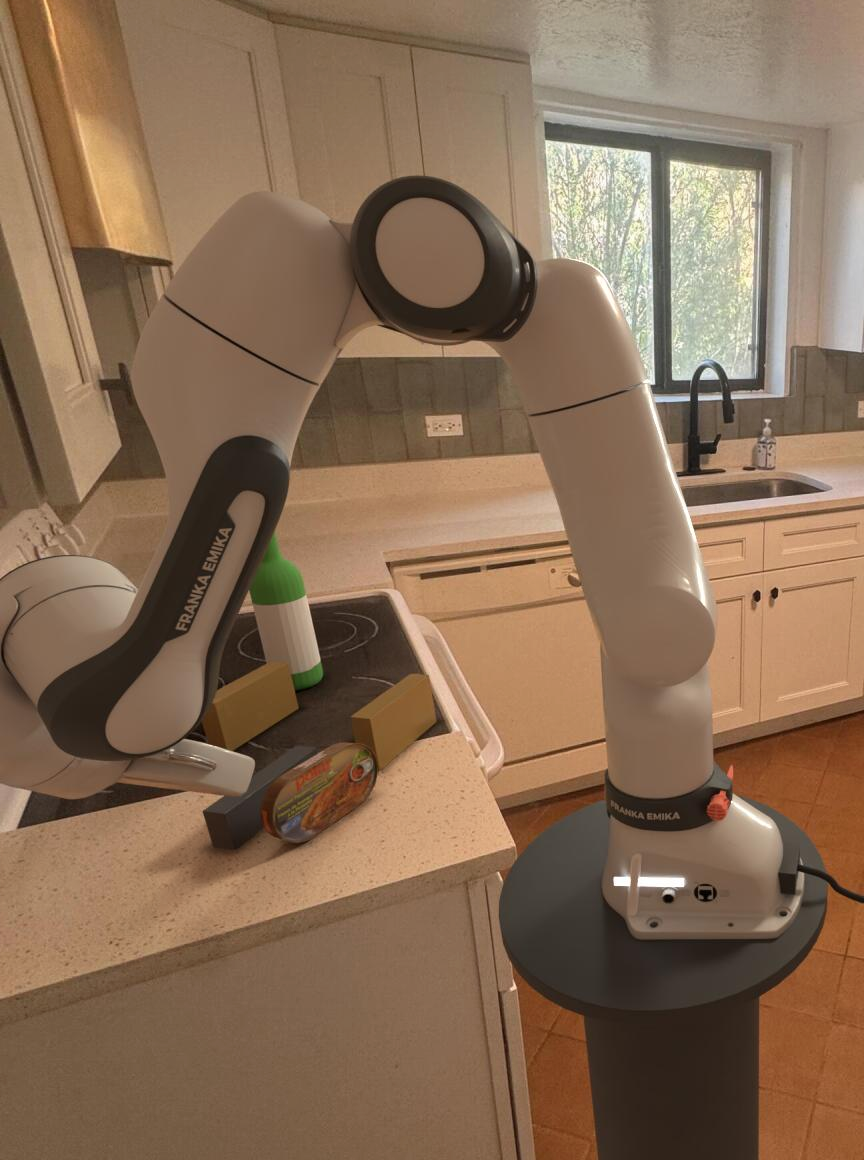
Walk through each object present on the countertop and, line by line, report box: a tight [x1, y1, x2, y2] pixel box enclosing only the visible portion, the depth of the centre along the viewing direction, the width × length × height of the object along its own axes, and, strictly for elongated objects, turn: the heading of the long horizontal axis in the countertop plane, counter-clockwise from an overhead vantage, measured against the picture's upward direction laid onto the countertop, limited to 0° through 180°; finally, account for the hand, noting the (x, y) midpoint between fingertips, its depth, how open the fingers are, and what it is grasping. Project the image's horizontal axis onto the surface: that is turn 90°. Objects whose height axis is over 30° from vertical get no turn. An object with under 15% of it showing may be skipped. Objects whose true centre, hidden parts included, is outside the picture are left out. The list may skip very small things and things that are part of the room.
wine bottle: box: [248, 530, 324, 692], centre depth 127 cm, size 8×8×30 cm
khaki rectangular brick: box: [349, 672, 437, 771], centre depth 112 cm, size 3×14×8 cm, turn 169°
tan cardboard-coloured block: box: [201, 661, 299, 752], centre depth 116 cm, size 3×14×8 cm, turn 169°
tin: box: [260, 741, 379, 844], centre depth 95 cm, size 15×3×8 cm, turn 159°
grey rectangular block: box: [202, 745, 318, 851], centre depth 97 cm, size 3×15×5 cm, turn 169°
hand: (201, 779), depth 78 cm, fingers open, 8 cm apart
